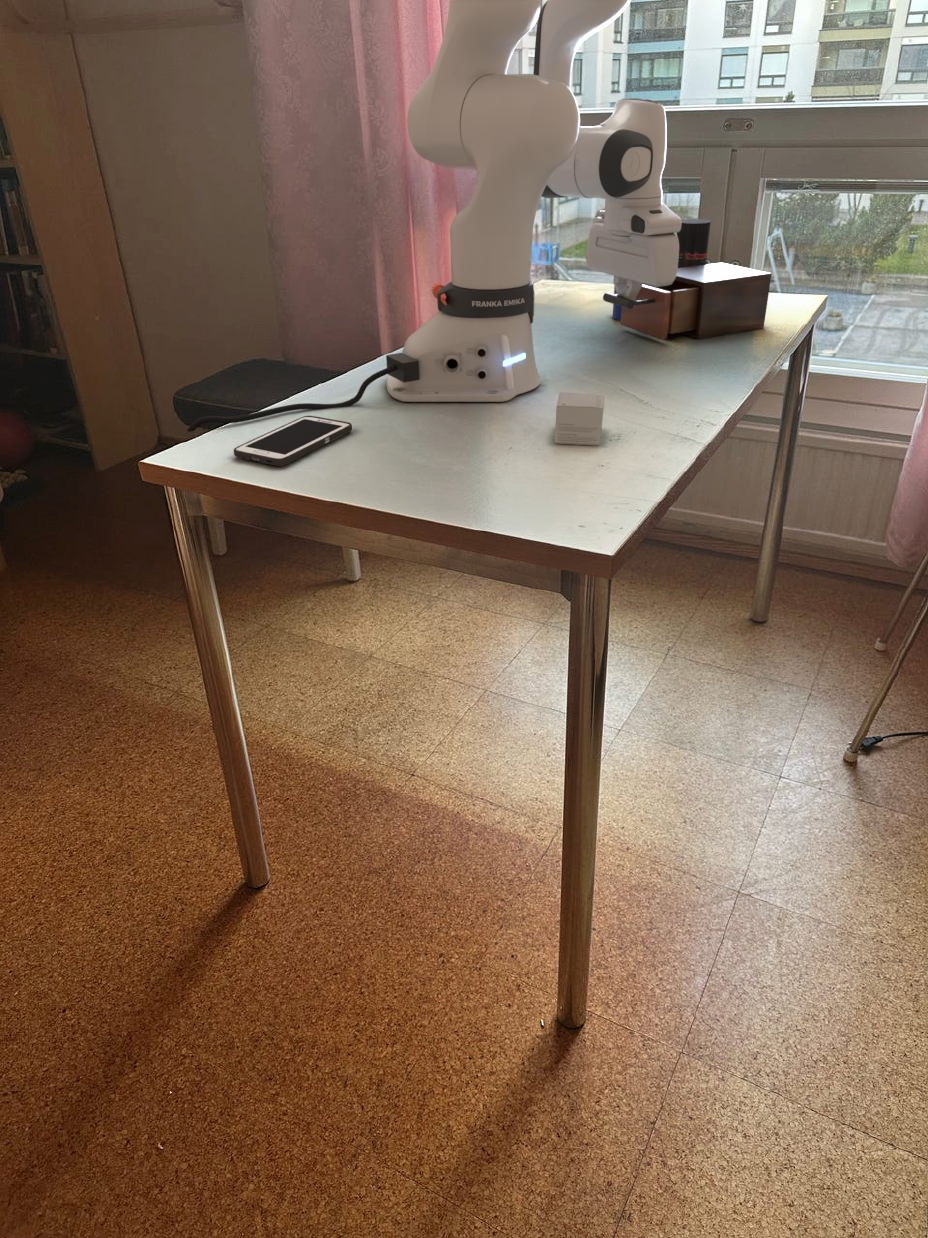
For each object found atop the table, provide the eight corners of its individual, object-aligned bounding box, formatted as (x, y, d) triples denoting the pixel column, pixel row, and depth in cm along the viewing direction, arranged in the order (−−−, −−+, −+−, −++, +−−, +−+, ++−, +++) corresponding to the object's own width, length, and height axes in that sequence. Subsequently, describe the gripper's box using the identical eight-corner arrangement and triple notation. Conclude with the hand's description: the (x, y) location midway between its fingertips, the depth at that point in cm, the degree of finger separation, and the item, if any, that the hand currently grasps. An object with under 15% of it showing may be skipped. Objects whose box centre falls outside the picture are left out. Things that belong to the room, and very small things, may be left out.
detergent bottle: (616, 321, 166) (619, 272, 161) (609, 314, 170) (612, 266, 166) (644, 319, 166) (648, 270, 162) (636, 313, 171) (639, 265, 166)
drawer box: (698, 338, 154) (704, 282, 149) (652, 324, 163) (656, 270, 159) (763, 327, 159) (771, 273, 155) (715, 314, 169) (721, 262, 164)
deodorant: (704, 308, 173) (713, 222, 166) (672, 308, 173) (680, 223, 166) (698, 301, 178) (706, 218, 171) (667, 301, 179) (675, 219, 171)
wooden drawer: (633, 343, 148) (636, 296, 145) (593, 329, 157) (595, 284, 153) (724, 328, 156) (730, 283, 152) (681, 315, 165) (685, 272, 161)
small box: (600, 446, 110) (603, 406, 108) (553, 444, 111) (554, 405, 109) (602, 430, 115) (605, 392, 113) (557, 428, 116) (558, 390, 114)
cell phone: (231, 457, 109) (229, 449, 109) (307, 421, 120) (306, 414, 120) (281, 468, 106) (280, 460, 105) (355, 430, 117) (354, 422, 116)
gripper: (579, 210, 151) (575, 297, 158) (655, 224, 135) (647, 319, 142) (610, 207, 153) (605, 293, 161) (689, 221, 138) (679, 315, 145)
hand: (626, 305), depth 151 cm, fingers closed, pressing on wooden drawer
